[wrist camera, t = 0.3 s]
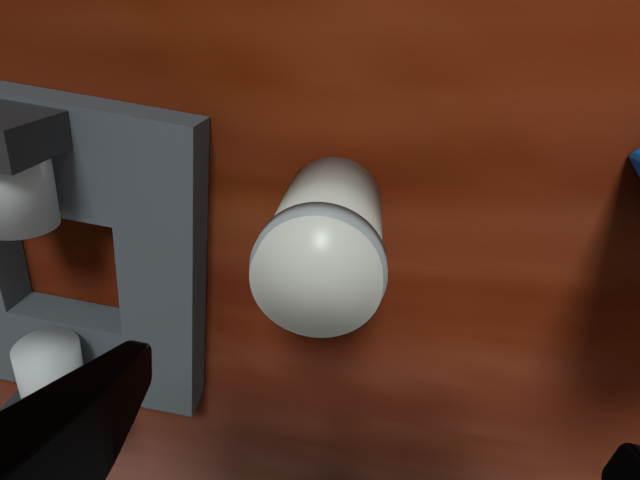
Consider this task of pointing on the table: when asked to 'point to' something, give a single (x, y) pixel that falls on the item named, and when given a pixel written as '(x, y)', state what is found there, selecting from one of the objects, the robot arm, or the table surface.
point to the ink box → (635, 160)
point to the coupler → (322, 252)
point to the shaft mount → (128, 236)
